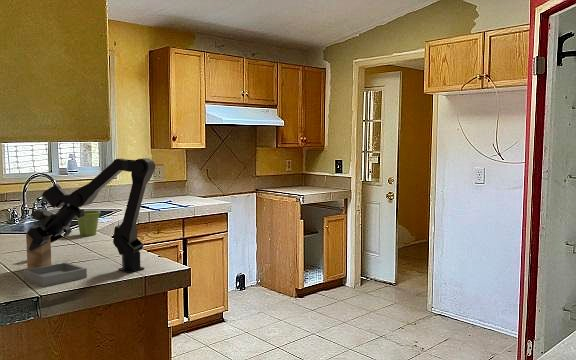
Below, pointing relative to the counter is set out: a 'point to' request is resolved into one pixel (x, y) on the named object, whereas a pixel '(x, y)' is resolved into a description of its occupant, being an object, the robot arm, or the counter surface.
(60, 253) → the counter surface
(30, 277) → the box
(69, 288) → the counter surface
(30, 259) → the walnut block
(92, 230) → the plant pot
